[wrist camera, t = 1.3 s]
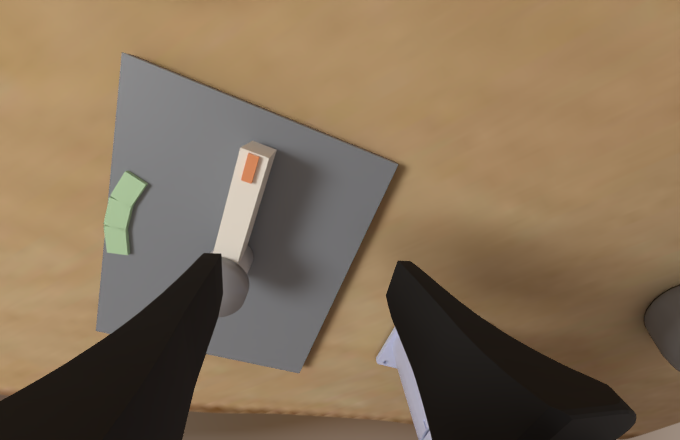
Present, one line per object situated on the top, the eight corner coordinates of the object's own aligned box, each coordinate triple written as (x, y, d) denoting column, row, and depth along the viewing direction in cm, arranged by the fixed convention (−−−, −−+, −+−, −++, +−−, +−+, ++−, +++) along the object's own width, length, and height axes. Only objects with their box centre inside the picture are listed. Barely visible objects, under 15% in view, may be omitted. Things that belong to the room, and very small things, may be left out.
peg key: (252, 282, 22) (237, 323, 18) (201, 269, 21) (173, 308, 17) (294, 155, 19) (287, 170, 14) (235, 132, 18) (210, 141, 14)
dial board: (394, 161, 20) (399, 165, 19) (299, 364, 28) (299, 376, 27) (132, 55, 17) (118, 51, 15) (104, 322, 24) (93, 333, 23)
